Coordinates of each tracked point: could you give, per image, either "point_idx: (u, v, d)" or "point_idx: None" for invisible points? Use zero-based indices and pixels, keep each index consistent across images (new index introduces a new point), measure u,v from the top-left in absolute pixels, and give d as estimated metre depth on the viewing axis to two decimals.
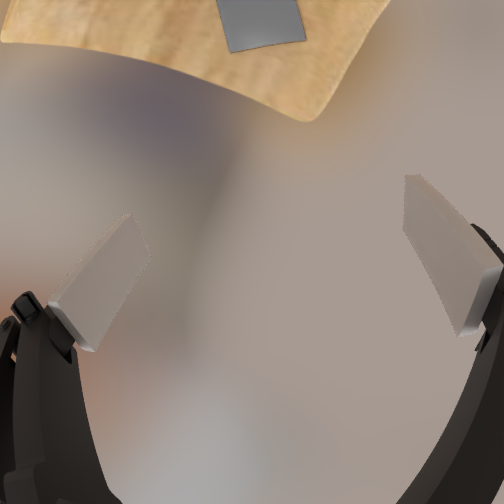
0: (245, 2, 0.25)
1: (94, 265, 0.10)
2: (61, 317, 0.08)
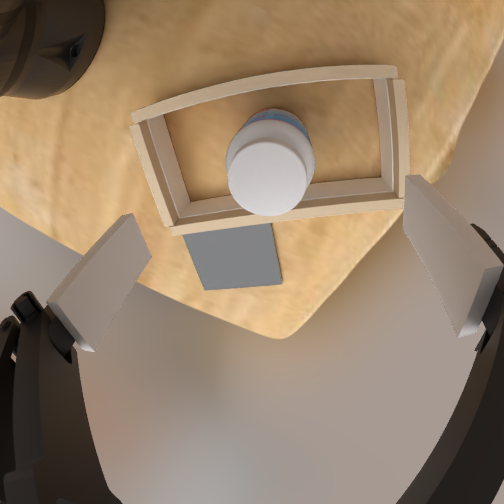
0: (215, 240, 0.31)
1: (94, 265, 0.10)
2: (61, 317, 0.08)
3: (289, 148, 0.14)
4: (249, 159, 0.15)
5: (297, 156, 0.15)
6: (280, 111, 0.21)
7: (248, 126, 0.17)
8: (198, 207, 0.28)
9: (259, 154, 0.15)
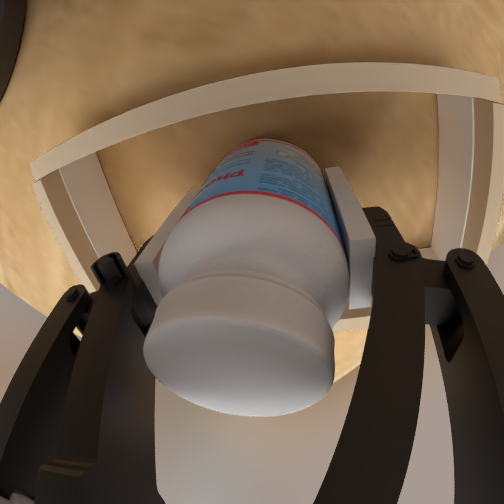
0: None
1: None
2: (150, 280, 0.09)
3: (296, 330, 0.05)
4: (185, 346, 0.05)
5: (317, 348, 0.05)
6: (278, 149, 0.11)
7: (196, 215, 0.07)
8: None
9: (210, 342, 0.05)
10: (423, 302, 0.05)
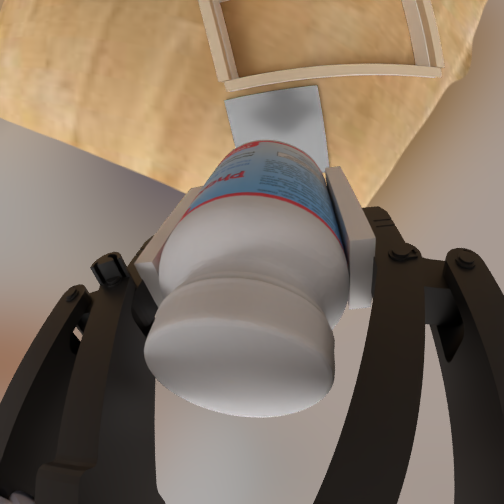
0: (262, 117, 0.28)
1: None
2: (150, 280, 0.09)
3: (296, 332, 0.05)
4: (185, 347, 0.05)
5: (317, 350, 0.05)
6: (278, 150, 0.11)
7: (196, 217, 0.07)
8: None
9: (211, 343, 0.05)
10: (423, 302, 0.05)
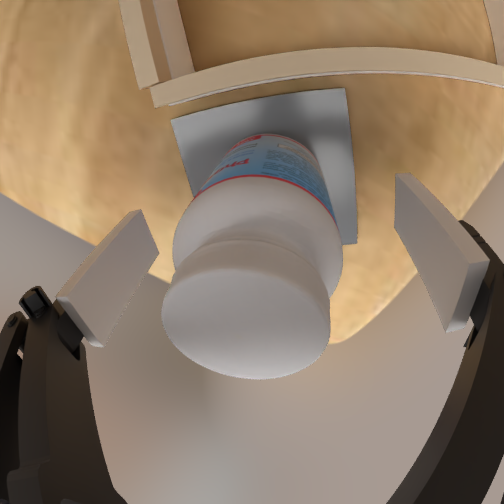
0: None
1: (103, 260, 0.10)
2: (70, 312, 0.09)
3: (295, 282, 0.06)
4: (200, 301, 0.07)
5: (314, 299, 0.06)
6: (279, 142, 0.12)
7: (209, 194, 0.08)
8: None
9: (223, 294, 0.06)
10: None
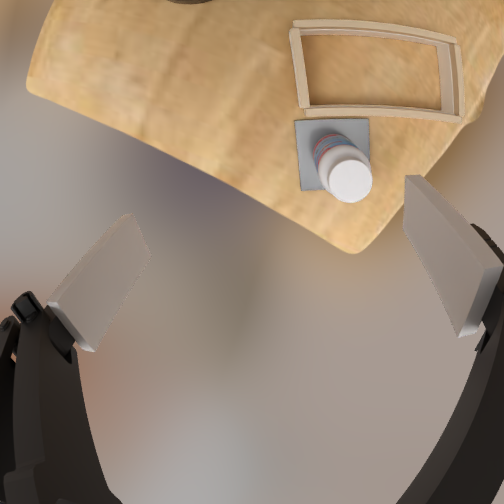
0: None
1: (94, 265, 0.10)
2: (61, 317, 0.08)
3: (365, 165, 0.25)
4: (344, 168, 0.25)
5: (369, 170, 0.25)
6: (344, 137, 0.31)
7: (336, 147, 0.27)
8: (320, 105, 0.31)
9: (350, 166, 0.25)
10: None
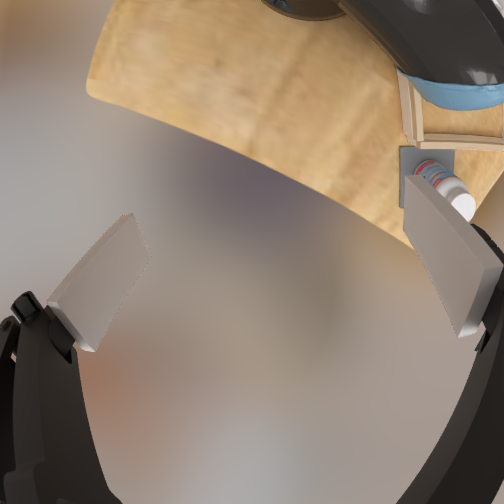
0: None
1: (94, 265, 0.10)
2: (61, 317, 0.08)
3: (472, 197, 0.26)
4: (459, 200, 0.26)
5: (474, 200, 0.26)
6: (441, 165, 0.32)
7: (448, 180, 0.28)
8: (423, 136, 0.32)
9: (463, 198, 0.26)
10: None
